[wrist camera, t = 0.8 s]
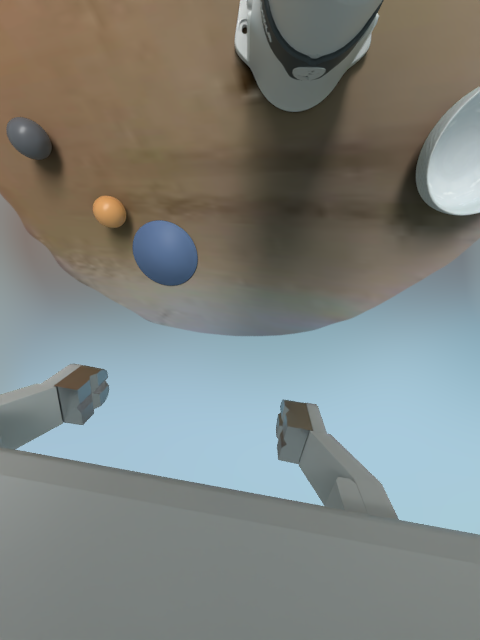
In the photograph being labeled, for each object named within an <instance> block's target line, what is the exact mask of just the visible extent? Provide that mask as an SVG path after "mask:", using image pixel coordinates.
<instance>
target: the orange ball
mask: <svg viewBox="0 0 480 640" xmlns="http://www.w3.org/2000/svg"><path fill="white" fill-rule="evenodd" d="M93 213H94V216H95V217H96V219H97V220H98V221H99V222H100V223H101V224H102V225H104V226H106V227H109V228H117V227H120V226H121V225H123V223H124V222H125V220H126V210H125V208H124V206H123V205H122V203H121V202H120V201H119V200H117V199H116V198H114V197H111V196H101V197H99V198H98V199H96V201H95V202H94V204H93Z"/></svg>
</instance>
